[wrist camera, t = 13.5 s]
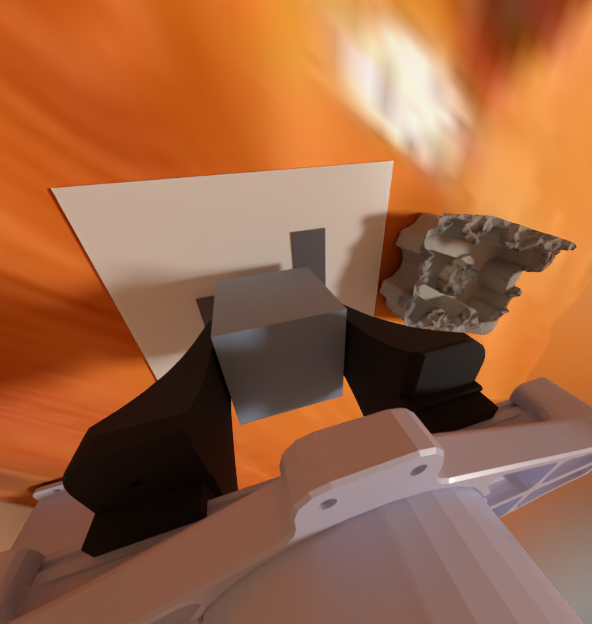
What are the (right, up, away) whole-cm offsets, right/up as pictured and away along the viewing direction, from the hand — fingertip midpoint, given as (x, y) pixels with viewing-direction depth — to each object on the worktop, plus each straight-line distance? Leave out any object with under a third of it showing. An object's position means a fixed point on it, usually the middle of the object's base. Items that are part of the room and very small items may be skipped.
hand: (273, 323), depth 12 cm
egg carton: (+12, +4, +5) cm, 14 cm away
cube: (0, +1, +1) cm, 2 cm away
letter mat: (-1, +1, +2) cm, 3 cm away
